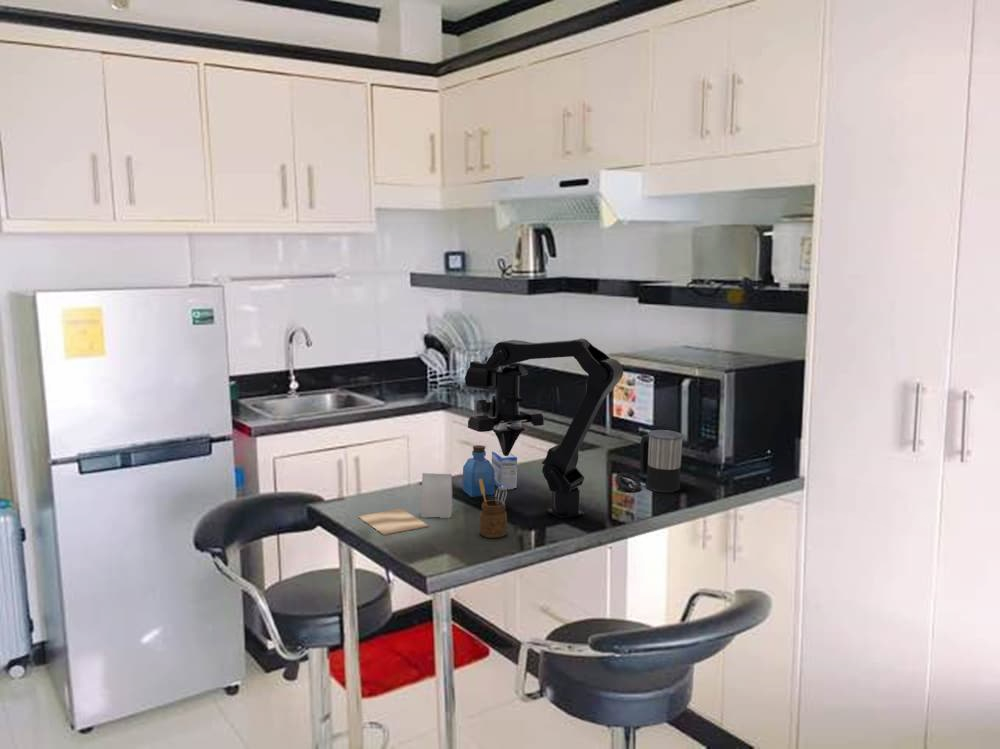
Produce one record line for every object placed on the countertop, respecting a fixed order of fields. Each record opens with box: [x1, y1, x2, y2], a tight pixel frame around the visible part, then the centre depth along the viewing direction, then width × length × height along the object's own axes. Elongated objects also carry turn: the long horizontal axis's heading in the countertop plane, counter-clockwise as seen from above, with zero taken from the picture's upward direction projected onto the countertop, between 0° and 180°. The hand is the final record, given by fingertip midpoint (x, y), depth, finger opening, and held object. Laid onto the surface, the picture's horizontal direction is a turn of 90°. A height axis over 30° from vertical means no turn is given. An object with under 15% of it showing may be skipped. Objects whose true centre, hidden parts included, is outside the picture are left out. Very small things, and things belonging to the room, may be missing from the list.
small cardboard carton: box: [420, 472, 453, 519], centre depth 190 cm, size 4×7×10 cm, turn 87°
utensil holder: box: [479, 478, 508, 539], centre depth 178 cm, size 6×6×12 cm
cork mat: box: [357, 508, 430, 536], centre depth 186 cm, size 14×11×1 cm
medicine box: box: [491, 449, 518, 491], centre depth 216 cm, size 8×4×9 cm, turn 21°
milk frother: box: [615, 429, 684, 493], centre depth 215 cm, size 14×16×15 cm
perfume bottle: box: [462, 444, 495, 498], centre depth 209 cm, size 6×6×12 cm
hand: (505, 455), depth 200 cm, fingers closed
